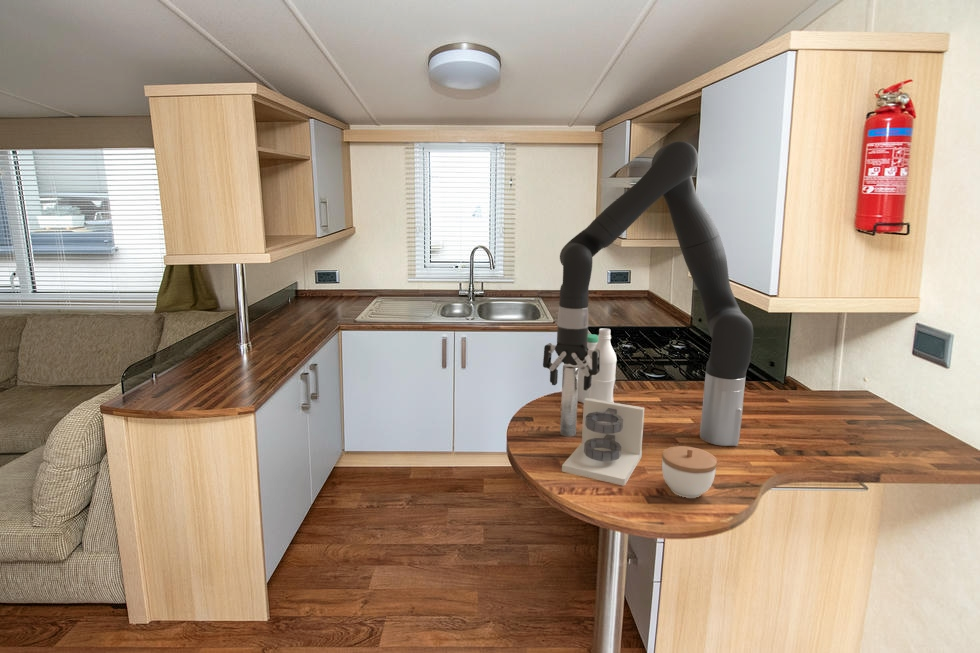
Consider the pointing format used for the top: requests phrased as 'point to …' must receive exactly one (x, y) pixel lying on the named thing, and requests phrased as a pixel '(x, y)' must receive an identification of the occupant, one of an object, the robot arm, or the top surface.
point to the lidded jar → (688, 470)
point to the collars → (609, 440)
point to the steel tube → (569, 400)
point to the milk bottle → (583, 393)
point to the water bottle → (604, 369)
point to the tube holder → (626, 438)
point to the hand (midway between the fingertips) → (570, 387)
